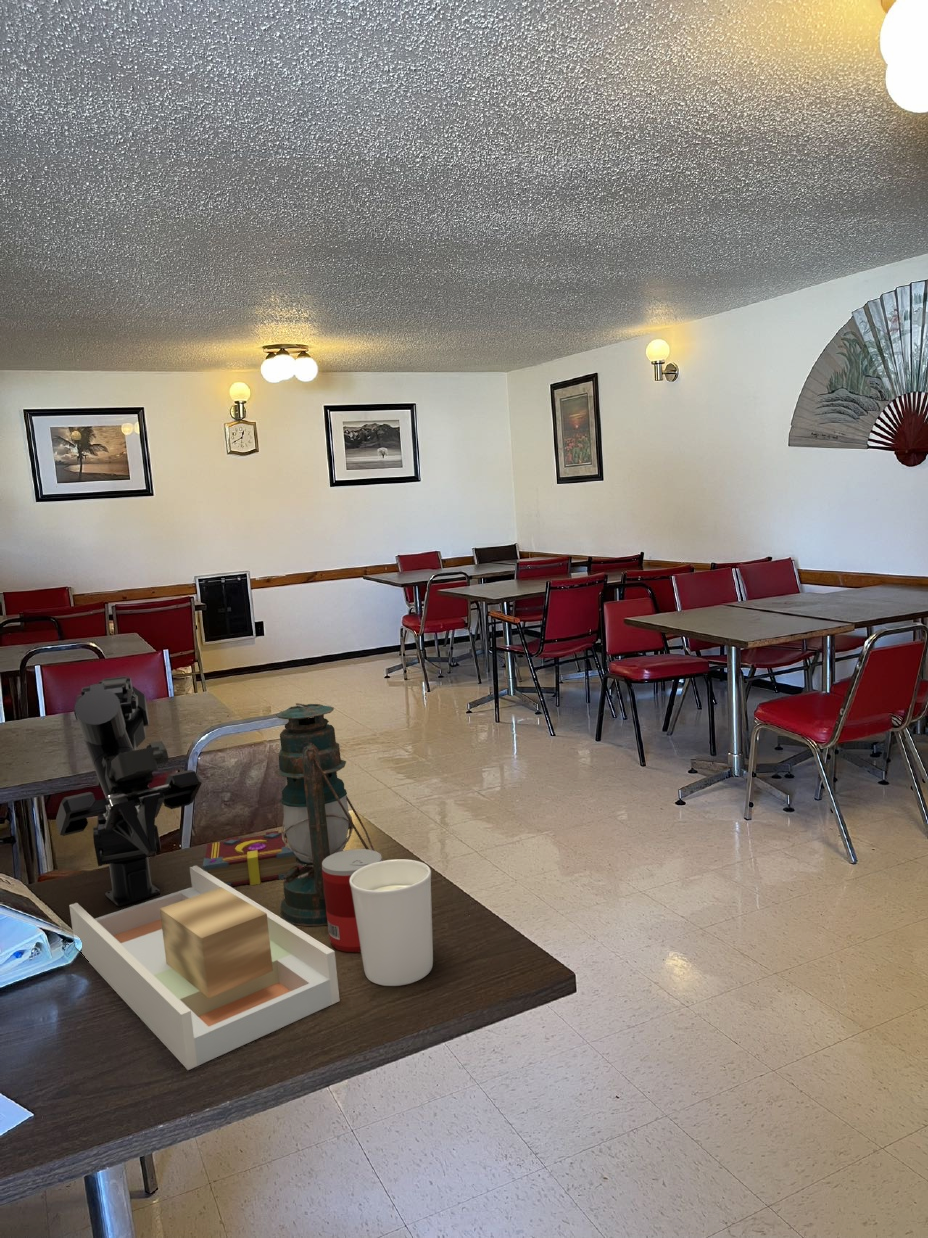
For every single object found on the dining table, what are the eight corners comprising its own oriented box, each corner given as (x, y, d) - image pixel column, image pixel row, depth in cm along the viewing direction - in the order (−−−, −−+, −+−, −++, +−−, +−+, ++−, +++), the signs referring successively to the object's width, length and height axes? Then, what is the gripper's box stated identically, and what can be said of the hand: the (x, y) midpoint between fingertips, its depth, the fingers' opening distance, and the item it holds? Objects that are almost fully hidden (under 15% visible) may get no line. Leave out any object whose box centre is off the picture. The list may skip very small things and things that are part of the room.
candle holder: (450, 953, 112) (442, 861, 111) (421, 994, 103) (412, 893, 102) (379, 947, 115) (370, 857, 114) (344, 986, 106) (334, 888, 105)
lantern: (279, 888, 138) (259, 696, 134) (372, 873, 140) (354, 685, 137) (281, 944, 119) (256, 721, 115) (388, 925, 121) (367, 708, 118)
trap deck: (74, 947, 123) (69, 905, 122) (200, 904, 134) (196, 865, 133) (187, 1070, 92) (181, 1014, 91) (339, 1001, 103) (334, 951, 102)
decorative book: (209, 868, 149) (205, 839, 149) (306, 852, 153) (303, 824, 152) (205, 894, 138) (202, 863, 138) (311, 876, 142) (308, 846, 141)
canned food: (380, 954, 113) (372, 870, 112) (320, 953, 115) (312, 870, 114) (396, 927, 121) (389, 848, 120) (340, 926, 122) (332, 848, 121)
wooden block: (166, 963, 109) (159, 908, 108) (227, 940, 114) (221, 887, 113) (208, 998, 100) (201, 938, 99) (272, 971, 105) (266, 913, 104)
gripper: (54, 738, 117) (91, 840, 110) (190, 714, 129) (231, 804, 122) (42, 786, 124) (75, 885, 116) (172, 758, 136) (210, 847, 129)
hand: (151, 853), depth 121 cm, fingers closed
